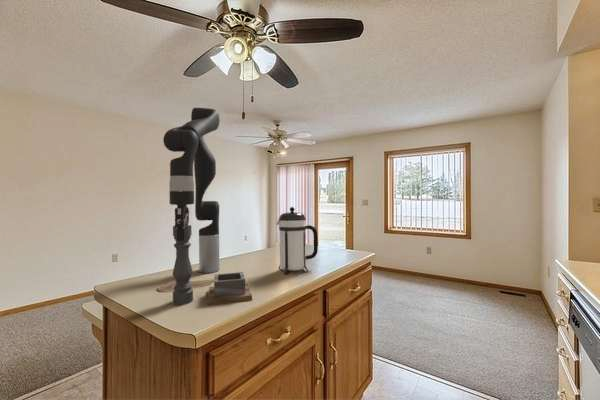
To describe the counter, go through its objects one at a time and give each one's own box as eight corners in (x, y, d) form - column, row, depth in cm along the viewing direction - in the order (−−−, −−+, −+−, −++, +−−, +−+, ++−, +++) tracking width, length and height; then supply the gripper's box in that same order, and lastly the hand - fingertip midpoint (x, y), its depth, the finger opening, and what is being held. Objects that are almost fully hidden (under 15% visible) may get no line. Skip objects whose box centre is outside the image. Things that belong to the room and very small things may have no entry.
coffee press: (300, 277, 118) (299, 207, 119) (270, 272, 126) (269, 207, 127) (318, 268, 133) (317, 206, 134) (290, 264, 142) (289, 206, 142)
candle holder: (168, 302, 90) (167, 226, 90) (184, 296, 95) (183, 224, 95) (181, 306, 87) (180, 227, 87) (197, 299, 92) (196, 225, 93)
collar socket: (209, 291, 101) (209, 273, 101) (247, 287, 105) (247, 270, 105) (207, 304, 88) (207, 284, 88) (252, 299, 92) (251, 280, 92)
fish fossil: (221, 277, 121) (221, 275, 121) (229, 285, 112) (230, 282, 112) (155, 287, 106) (155, 284, 106) (159, 297, 98) (159, 293, 98)
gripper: (173, 191, 97) (173, 237, 97) (165, 189, 83) (166, 242, 83) (195, 191, 99) (196, 236, 99) (192, 189, 86) (192, 241, 85)
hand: (182, 239), depth 91 cm, fingers open, 8 cm apart
